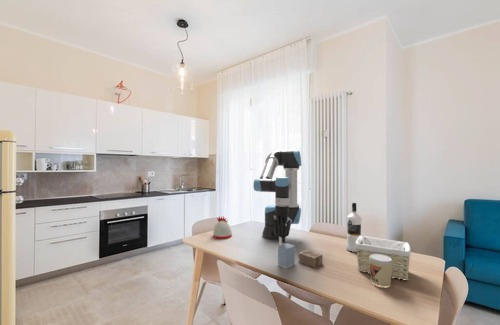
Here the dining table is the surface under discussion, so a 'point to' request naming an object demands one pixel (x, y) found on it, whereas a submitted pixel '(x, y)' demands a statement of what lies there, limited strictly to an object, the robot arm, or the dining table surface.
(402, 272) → the storage basket
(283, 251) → the slate block
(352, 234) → the vodka
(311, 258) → the walnut block
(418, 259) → the dining table surface
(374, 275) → the coffee cup
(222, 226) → the beanie hat
